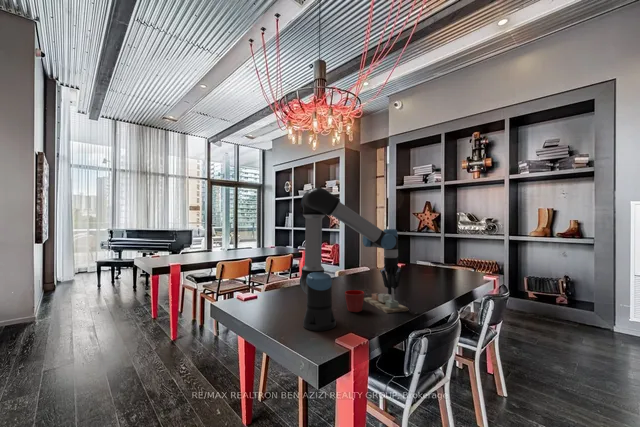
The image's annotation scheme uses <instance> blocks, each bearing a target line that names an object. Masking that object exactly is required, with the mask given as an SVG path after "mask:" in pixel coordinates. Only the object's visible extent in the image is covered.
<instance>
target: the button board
mask: <svg viewBox="0 0 640 427" xmlns="http://www.w3.org/2000/svg"><path fill="white" fill-rule="evenodd" d="M363 302H366V303H367V304H369V305H371V306H373V307H375V308H376V309H378V310H380V311H382V312H384V313H386V314H392V313H401V312H409V307H407V306H405V305H403V304H400V303H399V302H398V306H399V307H397V308H389V307H387V306H386V302H384V303H383V302H381V301H379V300H378V301H375V300H373V299H372V296H367V297H364V300H363Z"/></svg>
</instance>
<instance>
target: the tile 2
mask: <svg viewBox="0 0 640 427" xmlns="http://www.w3.org/2000/svg"><path fill="white" fill-rule="evenodd" d="M385 301H386V303H385V304H386V306H387V307H389V308H397V307H399V306H398V303H399V301H398V300H395V299H394V301H391V300H385Z"/></svg>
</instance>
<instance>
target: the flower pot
mask: <svg viewBox="0 0 640 427" xmlns="http://www.w3.org/2000/svg"><path fill="white" fill-rule="evenodd" d="M344 297H345V298H344V299H345V302H346V307H347V311H349V312H351V313H360V312H362V311H363V306H364V298H365V292H364V291H363V290H358V289H351V290H349V289H348V290H345V292H344Z"/></svg>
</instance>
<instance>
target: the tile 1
mask: <svg viewBox="0 0 640 427" xmlns="http://www.w3.org/2000/svg"><path fill="white" fill-rule="evenodd" d="M378 300H379V301H381V302H383V303H384V302H386V301H385V300H389V294H388V293H380V294H378Z"/></svg>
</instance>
